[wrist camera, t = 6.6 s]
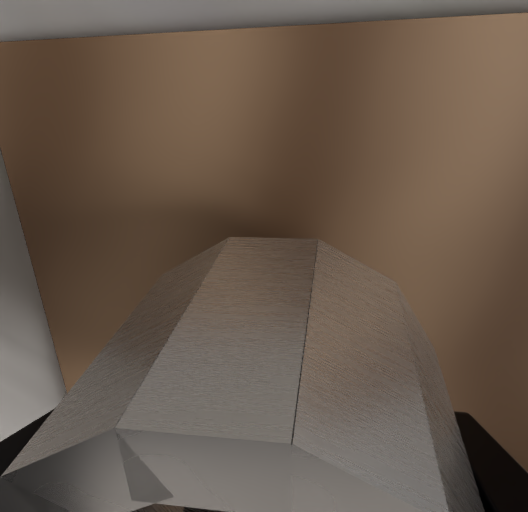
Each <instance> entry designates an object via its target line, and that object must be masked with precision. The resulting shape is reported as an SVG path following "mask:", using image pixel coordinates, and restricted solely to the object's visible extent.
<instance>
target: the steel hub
mask: <svg viewBox="0 0 528 512" xmlns="http://www.w3.org/2000/svg"><path fill="white" fill-rule="evenodd" d="M0 512H485V511H484V508H483V505H482V501H481V498H480V495H479V492H478V488H477V485H476V482H475V479H474V475H473V472H472V469H471V466H470V462H469V459H468V456H467V453H466V449H465V446H464V443H463V440H462V436H461V433H460V430H459V427H458V423H457V420H456V417H455V414H454V410H453V407H452V404H451V401H450V397H449V394H448V391H447V388H446V384H445V381H444V378H443V375H442V371H441V368H440V365H439V362H438V358H437V355H436V352H435V349H434V347H433V345H432V343H431V342H430V340H429V338H428V336H427V335H426V333H425V331H424V329H423V328H422V326H421V324H420V323H419V321H418V319H417V317H416V316H415V314H414V312H413V310H412V309H411V307H410V305H409V303H408V302H407V300H406V298H405V296H404V295H403V293H402V291H401V289H400V288H399V286H398V284H397V282H396V281H394V280H392V279H390V278H389V277H387V276H385V275H383V274H381V273H379V272H378V271H376V270H374V269H372V268H370V267H369V266H367V265H365V264H363V263H361V262H360V261H358V260H356V259H354V258H352V257H351V256H349V255H347V254H345V253H343V252H341V251H340V250H338V249H336V248H334V247H332V246H331V245H329V244H327V243H325V242H323V241H322V240H320V239H315V238H259V237H228V238H227V239H225V240H223V241H221V242H220V243H218V244H216V245H214V246H212V247H211V248H209V249H207V250H205V251H203V252H202V253H200V254H198V255H196V256H194V257H193V258H191V259H189V260H187V261H185V262H184V263H182V264H180V265H178V266H176V267H175V268H173V269H171V270H169V271H167V272H166V273H164V274H162V276H161V277H160V278H159V279H158V281H157V282H156V283H155V284H154V286H153V287H152V288H151V289H150V291H149V292H148V293H147V294H146V296H145V297H144V298H143V299H142V301H141V302H140V303H139V304H138V306H137V307H136V308H135V309H134V311H133V312H132V313H131V314H130V316H129V317H128V318H127V319H126V321H125V322H124V323H123V324H122V326H121V327H120V328H119V329H118V331H117V332H116V333H115V334H114V336H113V337H112V338H111V339H110V341H109V342H108V343H107V344H106V346H105V347H104V348H103V349H102V351H101V352H100V353H99V354H98V356H97V357H96V358H95V359H94V361H93V362H92V363H91V364H90V366H89V367H88V368H87V369H86V371H85V372H84V373H83V374H82V376H81V377H80V378H79V379H78V381H77V382H76V383H75V384H74V386H73V387H72V388H71V389H70V391H69V392H68V393H67V394H66V396H65V397H64V398H63V399H62V401H61V402H60V403H59V404H58V406H57V407H56V408H55V409H54V411H53V412H52V413H51V414H50V416H49V417H48V418H47V419H46V421H45V422H44V423H43V424H42V426H41V427H40V428H39V429H38V431H37V432H36V433H35V434H34V436H33V437H32V438H31V439H30V441H29V442H28V443H27V444H26V446H25V447H24V448H23V449H22V451H21V452H20V453H19V454H18V456H17V457H16V458H15V459H14V461H13V462H12V463H11V464H10V466H9V467H8V468H7V469H6V471H5V472H4V473H3V474H2V476H1V477H0Z"/></svg>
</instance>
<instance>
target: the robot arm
mask: <svg viewBox="0 0 528 512" xmlns="http://www.w3.org/2000/svg"><path fill="white" fill-rule="evenodd" d="M53 411H54V409H53V410H52V411H50V412H48V413H47V414H45V415H43V416H42V417H40V418H39V419H37V420H35V421H34V422H32V423H30V424H29V425H27V426H26V427H24V428H22V429H21V430H19V431H17V432H16V433H14V434H12V435H11V436H9V437H8V438H6V439H4V440H3V441H1V442H0V477H1V476H2V474H3V473H4V472H5V471H6V469H7V468H8V467H9V466H10V464H11V463H12V462H13V461H14V459H15V458H16V457H17V456H18V454H19V453H20V452H21V451H22V449H23V448H24V447H25V446H26V444H27V443H28V442H29V441H30V439H31V438H32V437H33V436H34V434H35V433H36V432H37V431H38V429H39V428H40V427H41V426H42V424H43V423H44V422H45V421H46V419H47V418H48V417H49V416H50V414H51V413H52V412H53ZM454 414H455V417H456V420H457V423H458V427H459V430H460V433H461V436H462V440H463V443H464V446H465V449H466V453H467V456H468V459H469V462H470V466H471V469H472V472H473V475H474V479H475V482H476V485H477V488H478V492H479V495H480V498H481V501H482V505H483V508H484V511H485V512H528V472H527V471H526V470H525V469H524V468H523V467H522V466H521V465H520V464H519V463H518V462H517V461H516V460H515V459H514V458H513V457H512V456H511V455H510V454H509V453H508V452H507V451H506V450H505V449H504V448H503V447H502V446H501V445H500V444H499V443H498V442H497V441H496V440H495V439H494V438H493V437H492V436H491V435H490V434H489V433H488V432H487V431H486V430H485V429H484V428H483V427H482V426H481V425H480V424H479V423H478V422H477V421H476V420H475V419H474V418H473V417H472V416H471V415H470V414H469V413H467V412H460V411H454Z"/></svg>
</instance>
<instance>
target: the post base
mask: <svg viewBox="0 0 528 512" xmlns="http://www.w3.org/2000/svg"><path fill="white" fill-rule="evenodd" d="M0 148H1V152H2V155H3V159H4V163H5V166H6V170H7V174H8V177H9V181H10V185H11V189H12V192H13V196H14V200H15V203H16V207H17V211H18V214H19V218H20V222H21V225H22V229H23V233H24V236H25V240H26V244H27V247H28V251H29V255H30V258H31V262H32V266H33V269H34V273H35V277H36V280H37V284H38V288H39V291H40V295H41V299H42V303H43V306H44V310H45V314H46V317H47V321H48V325H49V328H50V332H51V336H52V339H53V343H54V347H55V350H56V354H57V358H58V361H59V365H60V369H61V372H62V376H63V380H64V383H65V387H66V391H67V393H68V392H69V391H70V389H71V388H72V387H73V386H74V384H75V383H76V382H77V381H78V379H79V378H80V377H81V376H82V374H83V373H84V372H85V371H86V369H87V368H88V367H89V366H90V364H91V363H92V362H93V361H94V359H95V358H96V357H97V356H98V354H99V353H100V352H101V351H102V349H103V348H104V347H105V346H106V344H107V343H108V342H109V341H110V339H111V338H112V337H113V336H114V334H115V333H116V332H117V331H118V329H119V328H120V327H121V326H122V324H123V323H124V322H125V321H126V319H127V318H128V317H129V316H130V314H131V313H132V312H133V311H134V309H135V308H136V307H137V306H138V304H139V303H140V302H141V301H142V299H143V298H144V297H145V296H146V294H147V293H148V292H149V291H150V289H151V288H152V287H153V286H154V284H155V283H156V282H157V281H158V279H159V278H160V277H161V276H162V274H164V273H166V272H167V271H169V270H171V269H173V268H175V267H176V266H178V265H180V264H182V263H184V262H185V261H187V260H189V259H191V258H193V257H194V256H196V255H198V254H200V253H202V252H203V251H205V250H207V249H209V248H211V247H212V246H214V245H216V244H218V243H220V242H221V241H223V240H225V239H227V238H228V237H259V238H315V239H320V240H322V241H323V242H325V243H327V244H329V245H331V246H332V247H334V248H336V249H338V250H340V251H341V252H343V253H345V254H347V255H349V256H351V257H352V258H354V259H356V260H358V261H360V262H361V263H363V264H365V265H367V266H369V267H370V268H372V269H374V270H376V271H378V272H379V273H381V274H383V275H385V276H387V277H389V278H390V279H392V280H394V281H396V282H397V284H398V286H399V288H400V289H401V291H402V293H403V295H404V296H405V298H406V300H407V302H408V303H409V305H410V307H411V309H412V310H413V312H414V314H415V316H416V317H417V319H418V321H419V323H420V324H421V326H422V328H423V329H424V331H425V333H426V335H427V336H428V338H429V340H430V342H431V343H432V345H433V347H434V349H435V352H436V355H437V358H438V362H439V365H440V368H441V371H442V375H443V378H444V381H445V384H446V388H447V391H448V394H449V397H450V401H451V404H452V407H453V410H454V411H460V412H467V413H469V414H470V415H471V416H472V417H473V418H474V419H475V420H476V421H477V422H478V423H479V424H480V425H481V426H482V427H483V428H484V429H485V430H486V431H487V432H488V433H489V434H490V435H491V436H492V437H493V438H494V439H495V440H496V441H497V442H498V443H499V444H500V445H501V446H502V447H503V448H504V449H505V450H506V451H507V452H508V453H509V454H510V455H511V456H512V457H513V458H514V459H515V460H516V461H517V462H518V463H519V464H520V465H521V466H522V467H523V468H524V469H525V470H526V471H527V472H528V13H511V14H493V15H475V16H457V17H439V18H421V19H403V20H385V21H367V22H349V23H331V24H313V25H295V26H277V27H260V28H242V29H224V30H206V31H188V32H170V33H152V34H134V35H116V36H98V37H80V38H62V39H44V40H26V41H8V42H0Z"/></svg>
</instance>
